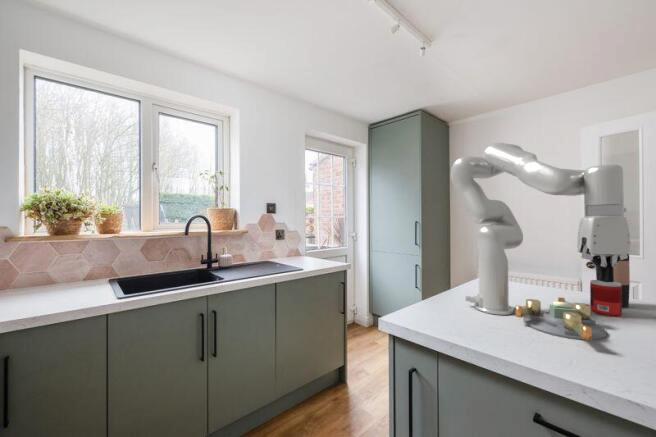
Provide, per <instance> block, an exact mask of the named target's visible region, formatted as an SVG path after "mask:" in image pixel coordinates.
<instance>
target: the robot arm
mask: <svg viewBox="0 0 656 437" xmlns="http://www.w3.org/2000/svg"><path fill="white" fill-rule="evenodd" d="M504 173H506V174H509V175H512V176H513V177H515V178H516V177H517V179H518V180H519V181H520V182H522V184H524V185H526V186H528V187H531V188H532V189H535V190H538V191H539V192H542V193H544V194H547V195H551V196H566V197H567V196H569V197H570V196H571V197H572V196H574V197H575V196H582V195H583V198H584V199H583V204H584V217H581V219H580V220H579V225H578V232H577V242H576V243H577V246H576V247H577V252H578V253H581V258H582V259H584V260H589V261H590V262H591V263H592V264H593V266H595V275H596V276H595V277H596V279H595V280H599V281H603V282H614V274H613V267H616V265H617V262H618V261H619V260H623V259H627V258H628V255H627V254H630V252H631V235H630V229H629V224H628V220H627V217H626V216H625V213H626V212H627V208H626V207H624V206H625V205H624V204H625V203H624V200H625V199H624V198H625V197H624V170H623V167H622V166H621V165H619V164H601V165H599V164H598V165H594V166H590V167H587V168H586V169H571V168H560V167H555V166H552V165H549V164H547V163H544V162H542V161H539V160H538V157H537V155H536V154H534V153H532V152H530V151H527V150H524V149H523V148H522V147H521V146H520V145H517V144H514V143H513V144H511V143H506V142H505V143H504V142H497V143H492V144H490V145H488V146H487V147H486V148H485V149H484V151H483V154H482V156H468V155H467V156H466V155H465V156H462V157H459V158H457V159H456V160H455V161H454V162H453V164H452V166H451V170H450V180H451V183H452V185H453V187H454V189H455V190H456V193H457V194H458V196H459V198H460V200H461V201H462V202H461V203H462V204H463V207H464V208H465V211H466V213H467V214H468V215H467V216H468V217H469V219H470V220H471V222H472V223H474V224H478V225H484V226H481V227H479V228H478V229H477V231H476V233H475V244H476V248H477V249H476V250H477V256H478V293H477V295H474V296H470V295H469V296H468V295H465V302H469V303H472V304H473V305H474V308H475V309H476V310H478V311H480V312H482V313H486V314H492V315H498V316H499V315H501V316H505V315H506V316H507V315H508V316H509V315H511V314H514V312H515V310H514V308H513V307H512V306H511V305H510V303H509V295H510V294H509V259H508V257H507V255H506V252H505V250H512V249H517V248H518V247H519V246H521V245H522V244H523V241H524V233H523V230H522V227H521V226H520V224H519V222H518V221H517V219H516V217H515V215H514V213H513V212H512V210H511V209H510V207H509V206H508V205H507V204H506V203H505V202H504V201H502V200H498V199H489V198H488V197H487V195H486V193H485V192H484V190H483V188H482V186H481V185H480V184H479V183H478V182H477V181H476V180H474V179H490V178H492V177H495V176H499V175H501V174H504Z"/></svg>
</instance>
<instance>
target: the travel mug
mask: <svg viewBox="0 0 656 437" xmlns="http://www.w3.org/2000/svg"><path fill="white" fill-rule="evenodd" d="M627 255H628V258H627V259H623V260H619V261H618V262H617V265H616V267H613V274H614V282H618V283H621V284H622V309H628V308H629V307H630V288H631V284H630V283H631V281H630V280H631V278H630V276H631V275H630V272H631V271H630V253H628V254H627Z"/></svg>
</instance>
